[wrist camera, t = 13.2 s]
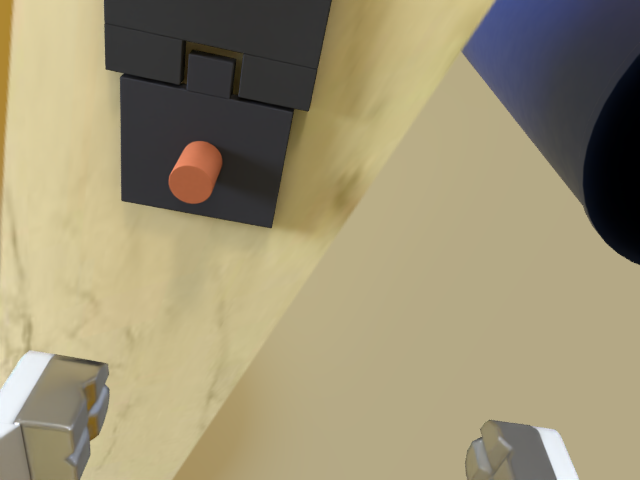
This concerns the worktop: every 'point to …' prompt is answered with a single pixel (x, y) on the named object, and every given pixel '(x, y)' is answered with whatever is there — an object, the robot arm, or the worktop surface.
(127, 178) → the tab pad
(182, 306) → the worktop surface
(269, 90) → the notch pad
